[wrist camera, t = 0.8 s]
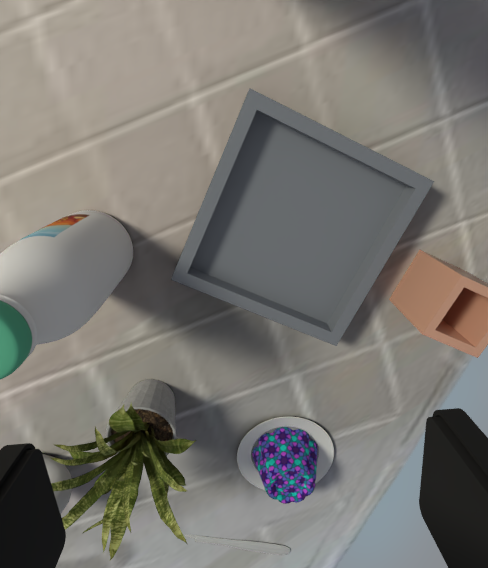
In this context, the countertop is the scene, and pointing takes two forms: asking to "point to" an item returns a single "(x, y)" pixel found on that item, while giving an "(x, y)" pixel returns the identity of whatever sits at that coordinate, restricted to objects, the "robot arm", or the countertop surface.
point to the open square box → (444, 303)
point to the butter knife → (244, 545)
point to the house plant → (130, 461)
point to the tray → (297, 221)
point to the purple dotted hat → (286, 458)
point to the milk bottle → (58, 281)
